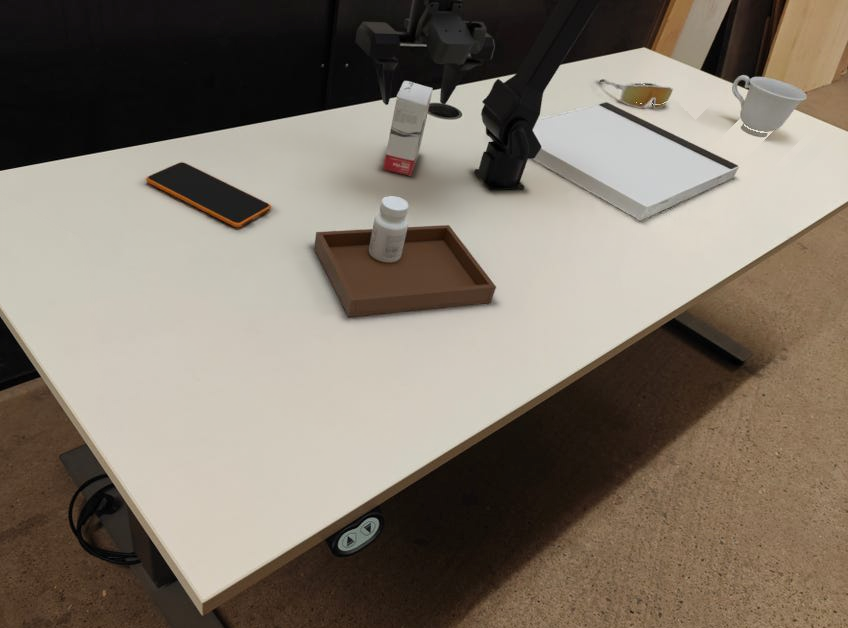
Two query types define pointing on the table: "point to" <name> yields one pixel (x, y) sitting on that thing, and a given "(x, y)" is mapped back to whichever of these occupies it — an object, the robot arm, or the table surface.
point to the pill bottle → (389, 230)
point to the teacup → (766, 103)
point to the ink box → (407, 127)
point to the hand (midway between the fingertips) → (414, 103)
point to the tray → (403, 272)
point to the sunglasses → (642, 94)
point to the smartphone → (209, 194)
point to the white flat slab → (627, 159)
